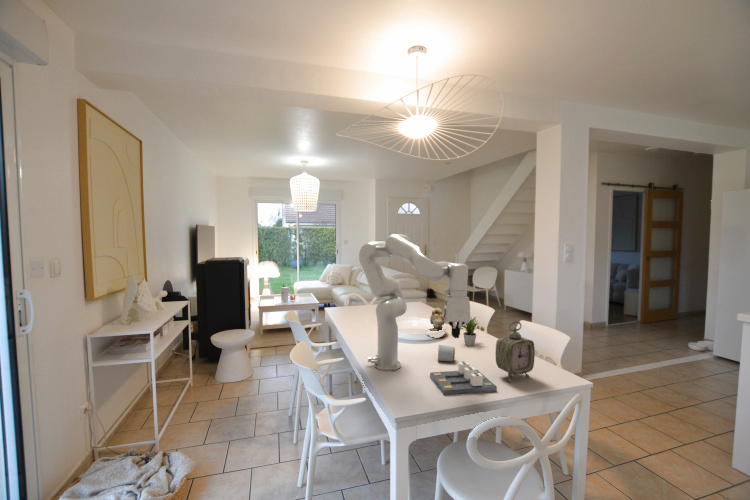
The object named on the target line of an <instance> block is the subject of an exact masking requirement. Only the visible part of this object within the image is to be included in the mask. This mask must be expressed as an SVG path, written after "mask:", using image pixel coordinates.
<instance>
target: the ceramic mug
mask: <svg viewBox="0 0 750 500" xmlns="http://www.w3.org/2000/svg"><path fill="white" fill-rule="evenodd" d="M437 349H438V351H437V352H438V353H437V361H438V362H439V361H440V362H454V361H455V359H456V357H455V355H456V349H455V347H454V346H450V345H444V344H438V348H437Z"/></svg>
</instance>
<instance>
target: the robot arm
mask: <svg viewBox="0 0 750 500" xmlns="http://www.w3.org/2000/svg"><path fill="white" fill-rule="evenodd" d="M392 256H397V257H399V258H400V259H402V260H404V261H405V262H407V263H409V265H410V266H411V267H412V269H414V271H416V272H417V273H418V274H420V275H421V276H423V277H425V278H427V279H429V280H430V281H441V280H445V279H448V288H447V290H445V291H444V293H445V295H446V298H445V302H444V308H443V313H444V321H443V322H444V324H447V325H449V326H450V327H451V336H452V337H453V338H454V339H460V334H461V330H460V328H463V327H462V326H464V324H467V323H469V324H470V320H471V303H470V297H468V278H469V266H468V265H467V264H465V263H460V262H459V263H458V262H457V263H456V262H455V263H454V262H448V261H433V260H432V259H430V258H428V257H426V255H424V254H423V253H422V249H421V247H420V246H419V245H417V244H416V243H413V242H412V240H411V239H410V237H409V236H408V235H406V234H401V233H400V234H399V233H397V234H396V233H393V234H390V235H388V236H387V237H386V239H385V240H383V241H382V240H381V241H380V240H379V241H378V240H377V241H376V240H374V241H367V242H365V243H364V244H363V245H362V246H361V247H360V249H359V254H358V260H359V263H360V266H361V269H362V271H363V273H364V275H365V278H366V281H367V283H368V285H369V288H370V291H371V294H372V295H373V297H374V298H377V299H383V298H386V299H383V300H381V301H380V302H378V304H377V306H376V309H375V316H376V321H377V354H376V355H375V356H373V357H367V362H368V363H371V364H373V365H374V367H375V368H376V369H378V370H380V371H386V372H388V371H396V370H398V369H400V368H401V366H402V363H401V362H400V361H399V359H398V356H399V355H398V354H399V353H398V352H399V351H398V349H399V348H398V347H399V343H398V342H399V334H398V333H399V332H398V331H399V329H398V323H397V320H396V319H397V318H399V317H401V316H403V315H404V314H405V313H406V312H407V310H408V309H407V308H408V307H407V302H406V299H405V296H404V294H403V291H402V288H401V286H400V284H399V283H398V281H397V280H396V279H395V278H394V277H392V276H385V273H384V271H383V268H382V267H381V265H380V264H379V263H378V262H377V260H378V259H388V258H390V257H392Z"/></svg>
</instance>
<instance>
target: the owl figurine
mask: <svg viewBox="0 0 750 500" xmlns="http://www.w3.org/2000/svg"><path fill="white" fill-rule="evenodd" d="M429 321H430V325H432V328H429V329H428V330H430V331H439V330H442V328H443V326H444V324H445V323H444V322H443V321H444V310H443V309H442V308H440V307H435V308H434V309H432V311H431V315H430V319H429ZM433 327H434V328H433ZM443 329H444V328H443ZM428 330H427V331H428ZM446 337H447V333H446V332H445V334H444V335H443V336H442V337H440V338H439V339H438V340H442V339H445V338H446Z"/></svg>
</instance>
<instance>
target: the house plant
mask: <svg viewBox="0 0 750 500" xmlns="http://www.w3.org/2000/svg"><path fill="white" fill-rule="evenodd" d="M478 321H479V320H478V319H477V316H474V317H471V316H470V320H469V323H466V324H464V325H463V326H462V327H461V328H460V331H461V330H465V332H463V338H464V345H465V346H467V347H473V346H475V343H476V338H477V333H475V330H477V329H478V330H479V329H480V330H482V328H480V327H479V328H476V326H477V325H479V322H478Z"/></svg>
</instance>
